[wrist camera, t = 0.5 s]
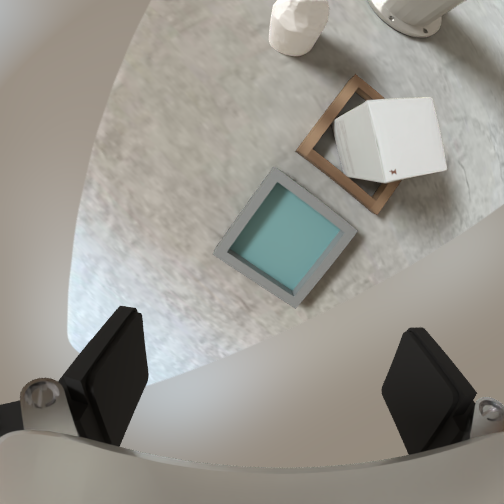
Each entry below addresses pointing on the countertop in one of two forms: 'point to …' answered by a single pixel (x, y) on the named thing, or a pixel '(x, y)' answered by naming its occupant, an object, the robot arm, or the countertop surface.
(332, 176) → the wooden picture frame
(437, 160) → the supplement box
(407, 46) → the countertop surface
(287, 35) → the white rounded piece
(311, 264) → the dock
